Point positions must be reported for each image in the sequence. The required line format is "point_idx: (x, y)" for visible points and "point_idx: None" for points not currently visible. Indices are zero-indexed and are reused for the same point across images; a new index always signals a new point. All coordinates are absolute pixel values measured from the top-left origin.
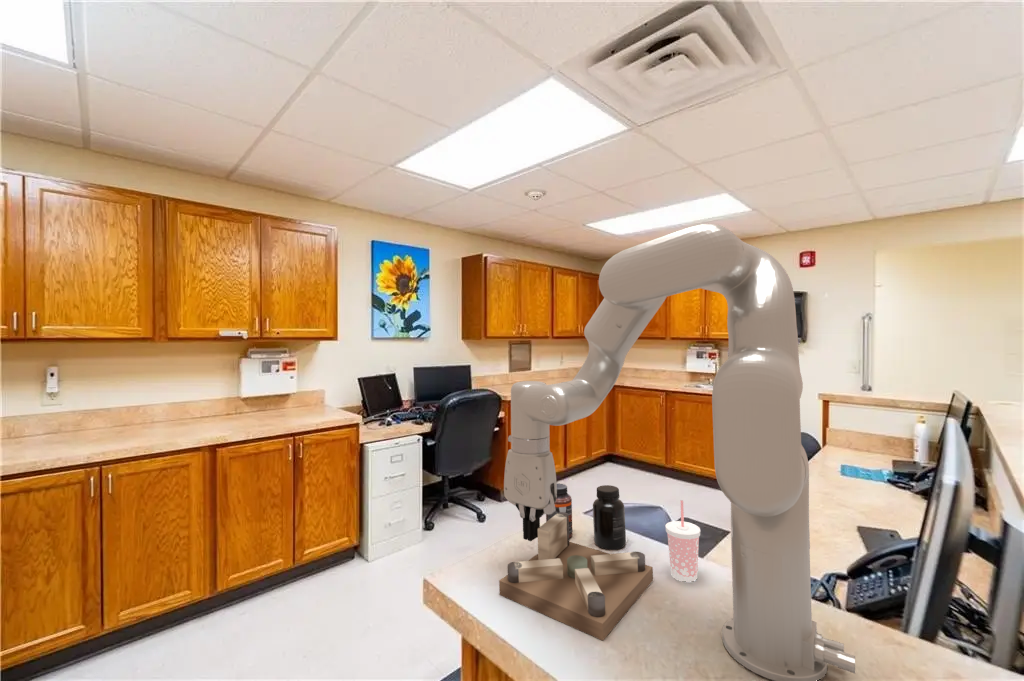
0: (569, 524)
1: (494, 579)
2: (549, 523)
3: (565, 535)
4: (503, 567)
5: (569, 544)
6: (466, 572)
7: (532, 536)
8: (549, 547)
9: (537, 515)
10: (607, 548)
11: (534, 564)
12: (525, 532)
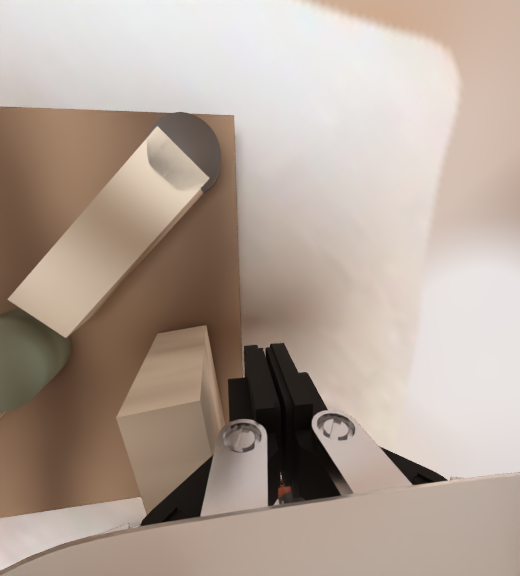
0: None
1: (303, 197)
2: None
3: None
4: (324, 271)
5: None
6: (403, 174)
7: (246, 372)
8: (144, 366)
9: (204, 481)
10: None
11: (116, 221)
12: (277, 360)
